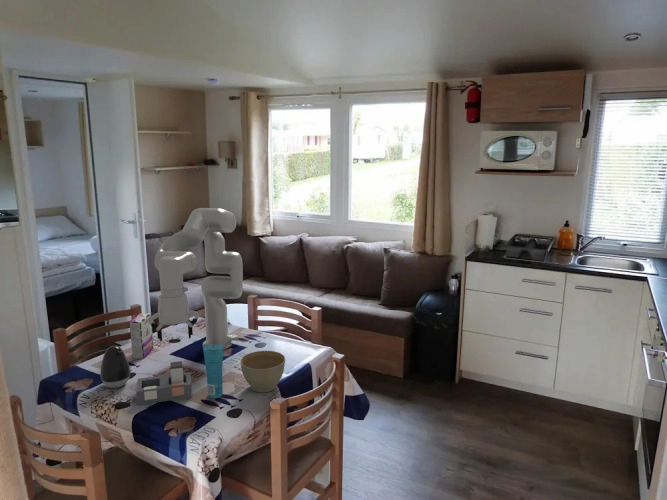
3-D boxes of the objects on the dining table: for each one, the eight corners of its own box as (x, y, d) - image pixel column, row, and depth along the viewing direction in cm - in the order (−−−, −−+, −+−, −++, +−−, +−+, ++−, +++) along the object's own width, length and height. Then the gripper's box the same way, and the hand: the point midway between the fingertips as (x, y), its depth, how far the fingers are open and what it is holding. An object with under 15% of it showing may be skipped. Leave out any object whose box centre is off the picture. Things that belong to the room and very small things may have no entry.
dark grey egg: (111, 394, 176) (108, 354, 173) (95, 386, 182) (92, 347, 179) (137, 383, 184) (134, 345, 181) (121, 376, 190) (118, 338, 187)
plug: (183, 386, 180) (182, 361, 178) (184, 391, 176) (182, 365, 174) (172, 388, 178) (170, 362, 176) (172, 393, 175) (170, 367, 173)
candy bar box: (142, 348, 216) (139, 312, 213) (153, 348, 216) (151, 312, 212) (131, 359, 205) (128, 321, 202) (143, 359, 205) (140, 321, 202)
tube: (226, 391, 178) (224, 341, 174) (225, 398, 173) (223, 347, 170) (205, 392, 177) (203, 342, 174) (203, 399, 173) (201, 347, 169)
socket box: (190, 384, 183) (189, 371, 182) (191, 397, 174) (191, 383, 173) (138, 391, 178) (137, 377, 177) (137, 405, 168) (136, 391, 167)
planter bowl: (249, 375, 191) (249, 348, 189) (290, 378, 189) (290, 352, 186) (234, 395, 176) (233, 366, 174) (278, 399, 173) (278, 370, 171)
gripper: (197, 286, 176) (200, 331, 180) (145, 291, 171) (149, 337, 174) (198, 292, 169) (201, 339, 173) (145, 297, 164) (149, 345, 167)
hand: (175, 338), depth 174 cm, fingers open, 9 cm apart
